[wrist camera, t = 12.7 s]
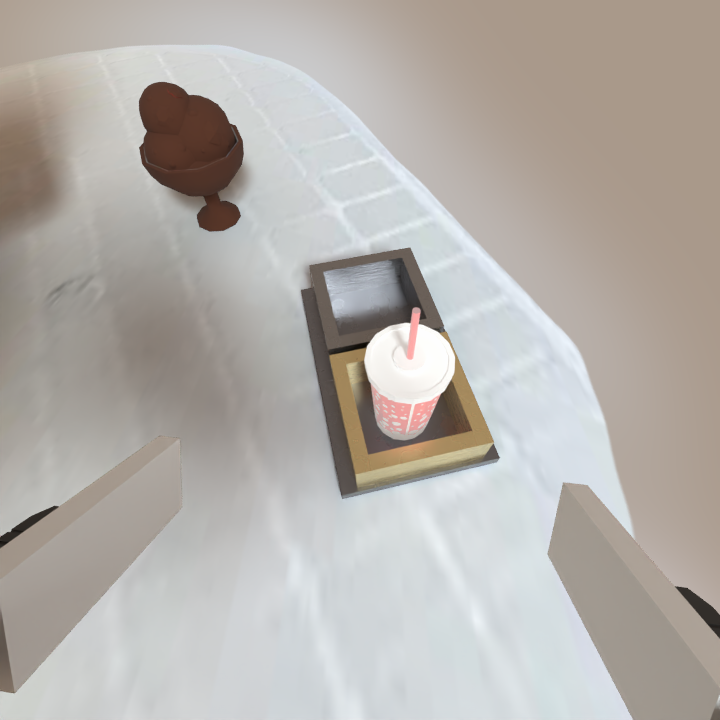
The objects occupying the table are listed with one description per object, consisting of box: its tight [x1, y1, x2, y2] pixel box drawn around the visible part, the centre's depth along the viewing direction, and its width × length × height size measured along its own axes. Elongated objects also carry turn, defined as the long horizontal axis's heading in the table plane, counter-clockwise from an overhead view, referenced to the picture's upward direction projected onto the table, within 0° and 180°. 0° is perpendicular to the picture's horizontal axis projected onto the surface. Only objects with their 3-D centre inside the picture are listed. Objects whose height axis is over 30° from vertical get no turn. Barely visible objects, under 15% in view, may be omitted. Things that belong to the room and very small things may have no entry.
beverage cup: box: [364, 307, 455, 440], centre depth 29 cm, size 6×6×14 cm
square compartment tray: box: [301, 248, 500, 499], centre depth 36 cm, size 22×13×4 cm, turn 13°
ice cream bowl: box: [139, 82, 244, 231], centre depth 45 cm, size 11×11×15 cm
